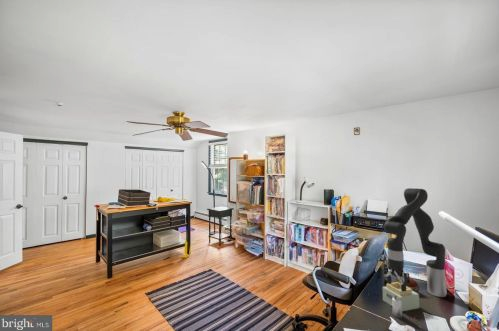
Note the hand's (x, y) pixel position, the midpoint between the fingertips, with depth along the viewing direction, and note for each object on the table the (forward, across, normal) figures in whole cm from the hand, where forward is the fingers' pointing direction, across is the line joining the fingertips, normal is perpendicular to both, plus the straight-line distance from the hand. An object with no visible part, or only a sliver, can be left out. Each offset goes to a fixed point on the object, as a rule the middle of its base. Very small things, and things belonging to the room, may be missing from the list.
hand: (396, 287), depth 121 cm
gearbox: (+15, +10, -12) cm, 22 cm away
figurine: (+15, +20, -27) cm, 37 cm away
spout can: (+15, 0, 0) cm, 15 cm away
